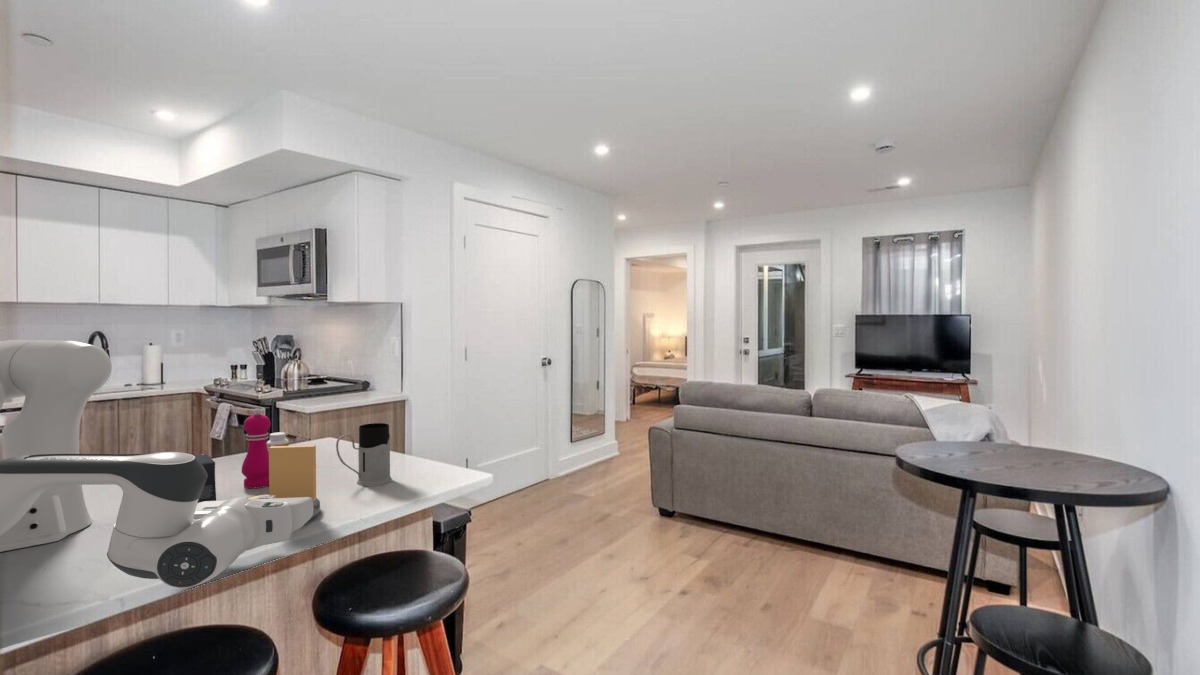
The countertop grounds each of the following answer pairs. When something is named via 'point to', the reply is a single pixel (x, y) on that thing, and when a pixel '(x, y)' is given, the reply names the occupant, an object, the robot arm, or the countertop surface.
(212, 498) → the small box
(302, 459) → the tan slab with dome
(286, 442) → the supplement bottle
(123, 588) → the countertop surface
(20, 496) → the robot arm
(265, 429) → the pepper mill
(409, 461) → the countertop surface
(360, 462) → the glass holder
